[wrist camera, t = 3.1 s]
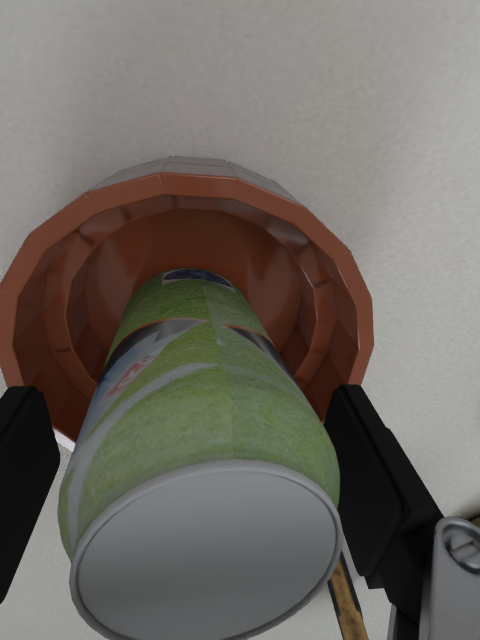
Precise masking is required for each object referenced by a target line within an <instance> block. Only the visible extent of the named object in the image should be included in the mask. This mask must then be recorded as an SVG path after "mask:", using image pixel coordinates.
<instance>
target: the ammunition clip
mask: <svg viewBox="0 0 480 640" xmlns="http://www.w3.org/2000/svg"><path fill="white" fill-rule="evenodd" d="M327 583H328V587H329V591H330V594H331V598H332V602H333V605H334V609H335V613H336V616H337V620H338V623H339V627H340V630H341V634H342V637H343V640H369V639H368V636H367V633H366V629H365V626H364V623H363V617H362V612H361V608H360V604H359V601H358V598H357V595H356V592H355V589H354V586H353V583H352V580H351V577H350V574H349V571H348V567H347V564H346V561H345V558H344V555H343V552H342V550H341V554H340V557H339V561H338V563H337V565H336V567H335V569H334V571H333V573H332V575H331V577H330V579H329V580H328V581H327Z"/></svg>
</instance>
